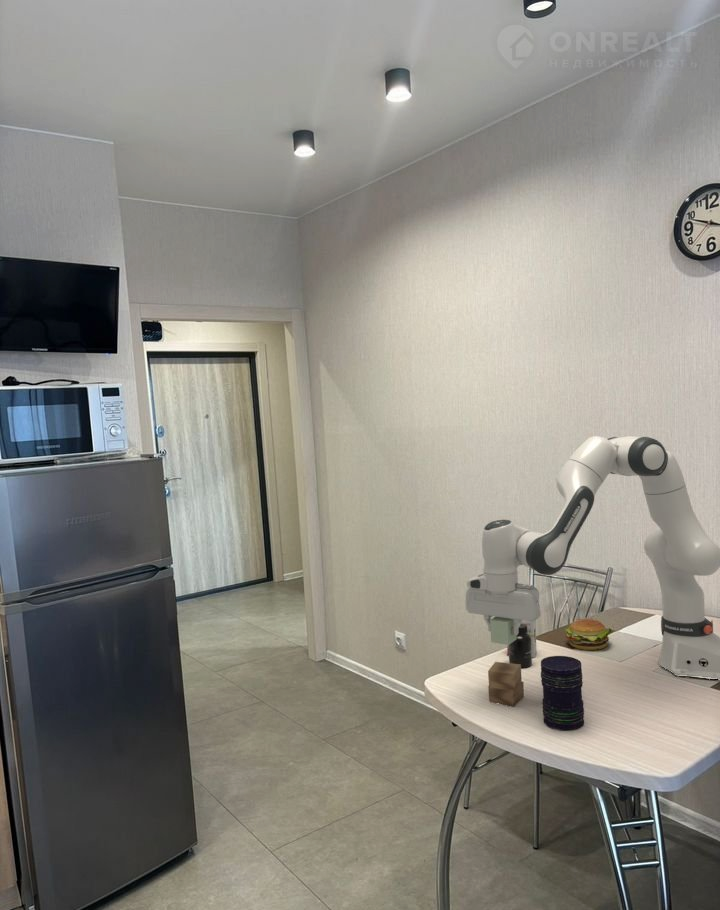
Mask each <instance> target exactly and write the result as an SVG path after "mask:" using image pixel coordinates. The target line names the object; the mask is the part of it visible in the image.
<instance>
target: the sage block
mask: <svg viewBox="0 0 720 910" xmlns="http://www.w3.org/2000/svg"><path fill="white" fill-rule="evenodd" d="M515 625H516V623H514V619H510V618H503V617H495V616H493V617H492V618H491V620H490V629H491V632H490V643H494V644H499V645H506V646H507V645H509V644H511V643H512V642H513V641H515V640H516V639H517V638H516V635H511V628H512V627H515Z"/></svg>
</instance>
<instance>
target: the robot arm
mask: <svg viewBox="0 0 720 910" xmlns="http://www.w3.org/2000/svg"><path fill="white" fill-rule="evenodd" d="M609 474H611V475H612V474H613V475H618V476H626V477H632V476H636V477H637V476H638V477H639V479H640V480H641V485H642V489H643V493H644V497H645V501H646V505H647V509H648V512H649V516H650V518H651V519H652V521H653V522H654V523H655V525H657V527H658V528H659V529H655V530H652V531H651V532H649V533H648V534H647V536H646V538H645V540H644V543H643V548H644V552H645V554H646V556H647V557H648V559H649V560H650V561H651V563H652V566H653V567H654V570H655V573H656V576H657V579H658V582H659V587H660V592H661V593H660V594H661V605H662V616H661V619H660V631H661V635H662V642H661V649H660V656H659V659H658V662H659V663H658V665H659V664H660V665H661V666H662V667H664V668H666V669H668V670H670V671H672V672H673V673H674V674H676V675H687V676H702V677H711V678H717V679H720V636H719V635H717V634H716V633H715V632H714V621H713V620H711V621H710V620H709V619H707V618H706V617H705V616H706V615H705V614H706V613H705V594H704V590H703V589H702V587H701V586H700V584H699V583H698V581H697V579H696V577H695V576H701V577H702V576H703V577H704V576H710V575H711V576H712V575H713V574H714V573H716V572H717V571H718V570H719V569H720V547H719V546H718V545H717V544H716V543H715V542H714V541H713V539H711V538H710V537H709V535H708V533H707V532H706V531H705V529H704V528H703V526H702V525H701V523H700V521H699V519H698V517H697V515H696V513H695V512H694V509H693V507H692V503H691V500H690V496H689V493H688V490H687V489H688V488H687V485H686V481H685V478H684V475H683V472H682V470H681V467H680V465H679V462H678V460H677V459H676V457H675V455H674V453H672V452H671V451H669V450H667V449H666V448H665V447H664V445H663V444H662V443H661V442H660V441H658V440H657V439H655V438H653V437H649V436H638V435H637V436H636V435H635V436H634V435H627V436H621V437H620V436H618V437H617V436H613V437H610V438H606V437H603V436H599V435H592V436H590V437H588V438H587V439H586V440H584V441H583V442H582V443H581V444H580V445H579V446H578V447H577V448H576V450H574V452H573V453H572V454H571V455H570V457H569V458H568V459H567V460H566V462H565V463H564V465H563V466H562V467H561V468H560V470H559V473H558V475H557V477H556V487H557V490H558V492H559V494H560V495H561V496H562V497H563V499H564V505H563V506H564V507H563V508H562V510H561V512H560V513H559V515H558V517H557V519H556V520H555V521H554V524H553V525H552V527H551V528H550V529H549V530H548V531H546V532H544V533H542V532H539V531H537V530H533V529H529V528H526V527H523V526H520V525H518V524H515V523H514V522H512V521H511V520H510V519H498V520H494V521H490V522H488V523H487V524H485V526H484V527H483V531H482V538H481V539H482V540H481V541H482V543H481V544H482V545H481V549H482V550H481V551H482V558H483V562H484V564H483V565H484V567H483V573H482V574H479V575H476V576H473V577H471V578H470V579H468V580H467V581H466V586H467V590H466V592H465V610H466V611H467V613H469V614H473V615H474V614H475V615H482V616H483V619H484V621H485V623H486V625H487V626H488V632H490V633H491V629H490V620H491V619H492V618H493V617H503V618H510V619H514V623H516V625H515V627H512V628H511V635H518V633H519V630H518V628H519V626H520V624H521V623H522V620H524V621H532V622H534V621H536V622H537V620H539V618H541V606H540V601H539V600H540V592H539V590H538V588H537V587H535V586H534V585H532V584H523V583H519V579H518V567H519V566H524V567H527V568H530V569H532V570H533V571H535V572H537V573H538V574H540V575H544V576H551V575H554V574H556V573H558V572H559V571H561V570H562V568H563V567H564V566H565V564H566V562H567V559H568V556H569V553H570V550H571V547H572V545H573V542H574V540H575V539H576V537H577V536H578V533H579V532H580V530H581V529H582V526H583V525H584V523H585V521H586V520H587V517H588V516H589V514H590V512H591V510H592V508H593V505H594V503H595V497H596V494H597V492H598V491H599V489H600V488H601V486H602V484H603V483H604V482H605V481H606V479H607V477H608V476H609ZM660 665H659V666H660ZM661 666H660V667H661ZM662 667H661V668H662ZM664 668H663V669H664ZM666 669H665V670H666ZM668 670H667V671H668ZM670 671H669V672H670Z"/></svg>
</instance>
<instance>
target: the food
mask: <svg viewBox="0 0 720 910" xmlns="http://www.w3.org/2000/svg"><path fill="white" fill-rule="evenodd" d="M567 627H568V628H565V629H564V630H565V638H566V639H568V641H569V645H570V646H571V647H573V648H576V649H579V650H584V651H597V649H598V650H601V649H604V648H606V647H608V642H609V640H610V638H609V636H608V635H610V634H611V633H612V629H611V628H606V625H604V624H603V623H602V622H601V621H599V620H597V619H593V618H580V619H577V620H576V619H575V620H574V621H572V622H571V624H570V625H569V626H567Z"/></svg>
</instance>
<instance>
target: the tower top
mask: <svg viewBox="0 0 720 910" xmlns="http://www.w3.org/2000/svg"><path fill="white" fill-rule="evenodd" d="M487 673H488V674H487V675H488V676H487V677H488V686H489V688H497V689H505V690H513V691H515V690H516V689H517V687H518V686H519V684H520V682H521V681H522V679H523V678H522V668H521V664H512V663H509V662H500V661H495V662H494V663H493V664H492V665H491V667H490V668H489V669H488V670H487ZM522 682H523V681H522Z"/></svg>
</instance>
